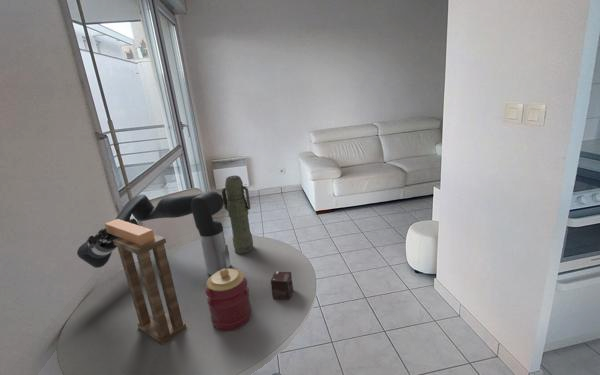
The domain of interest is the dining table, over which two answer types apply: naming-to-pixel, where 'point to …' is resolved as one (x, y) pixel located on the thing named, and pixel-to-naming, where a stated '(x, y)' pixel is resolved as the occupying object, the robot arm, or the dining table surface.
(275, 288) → the box
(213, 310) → the canister
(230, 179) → the thermos
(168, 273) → the walnut shelf stand
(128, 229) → the terracotta bar
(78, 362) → the dining table surface
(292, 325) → the dining table surface
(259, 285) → the dining table surface
